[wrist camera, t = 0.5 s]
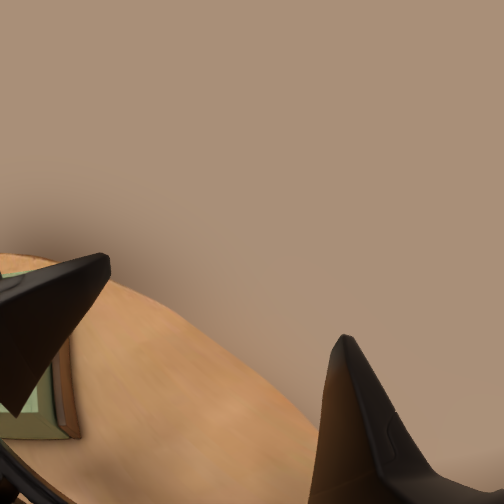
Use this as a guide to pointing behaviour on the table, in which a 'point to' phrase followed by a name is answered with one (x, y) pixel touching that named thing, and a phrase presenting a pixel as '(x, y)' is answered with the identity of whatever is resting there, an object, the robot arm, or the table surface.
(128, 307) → the table surface
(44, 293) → the robot arm
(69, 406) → the brown wooden tray
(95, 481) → the table surface
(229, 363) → the table surface
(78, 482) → the table surface
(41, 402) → the container
